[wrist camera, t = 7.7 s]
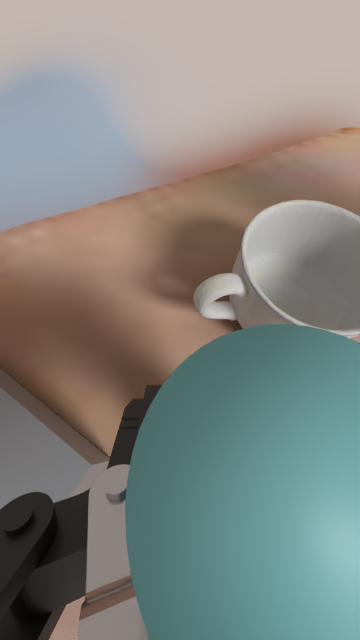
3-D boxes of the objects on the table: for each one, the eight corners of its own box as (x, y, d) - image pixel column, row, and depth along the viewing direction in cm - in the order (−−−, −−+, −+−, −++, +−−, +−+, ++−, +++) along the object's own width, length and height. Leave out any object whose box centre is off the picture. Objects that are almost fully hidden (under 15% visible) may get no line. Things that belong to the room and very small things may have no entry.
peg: (196, 397, 16) (234, 279, 4) (259, 439, 15) (540, 434, 3) (157, 463, 14) (42, 562, 3) (223, 515, 13) (523, 1070, 2)
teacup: (316, 263, 26) (368, 194, 19) (357, 363, 21) (449, 323, 14) (183, 272, 25) (185, 205, 18) (195, 377, 21) (203, 342, 13)
